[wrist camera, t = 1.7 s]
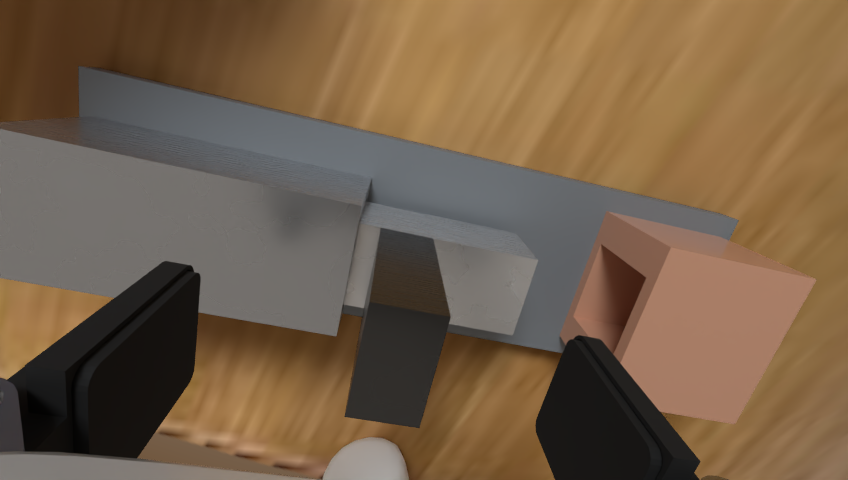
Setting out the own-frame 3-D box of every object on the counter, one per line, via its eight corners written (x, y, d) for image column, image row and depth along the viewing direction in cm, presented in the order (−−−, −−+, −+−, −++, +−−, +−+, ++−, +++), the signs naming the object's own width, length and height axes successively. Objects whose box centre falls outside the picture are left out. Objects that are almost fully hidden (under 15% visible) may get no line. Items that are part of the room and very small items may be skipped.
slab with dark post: (150, 231, 19) (-73, 353, 10) (153, 155, 18) (-94, 216, 9) (495, 298, 21) (565, 450, 12) (516, 233, 20) (610, 346, 11)
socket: (559, 335, 23) (603, 402, 18) (606, 210, 21) (670, 247, 16) (665, 355, 23) (734, 424, 18) (720, 236, 21) (816, 279, 16)
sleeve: (92, 230, 20) (-11, 275, 15) (91, 115, 18) (-25, 123, 13) (351, 280, 21) (336, 336, 16) (371, 178, 19) (361, 205, 15)
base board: (98, 256, 21) (81, 266, 20) (97, 67, 19) (78, 66, 17) (653, 359, 25) (665, 371, 24) (721, 213, 22) (738, 220, 21)
